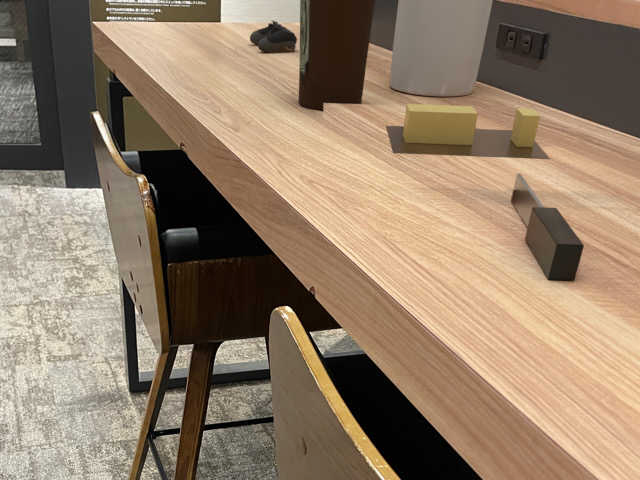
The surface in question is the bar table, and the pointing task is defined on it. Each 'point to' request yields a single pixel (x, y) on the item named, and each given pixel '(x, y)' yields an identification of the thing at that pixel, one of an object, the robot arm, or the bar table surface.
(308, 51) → the olive oil
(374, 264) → the bar table surface
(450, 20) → the utensil holder
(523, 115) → the butter slice
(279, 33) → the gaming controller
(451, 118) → the butter block
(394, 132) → the cutting board
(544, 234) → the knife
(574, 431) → the bar table surface
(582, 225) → the bar table surface
